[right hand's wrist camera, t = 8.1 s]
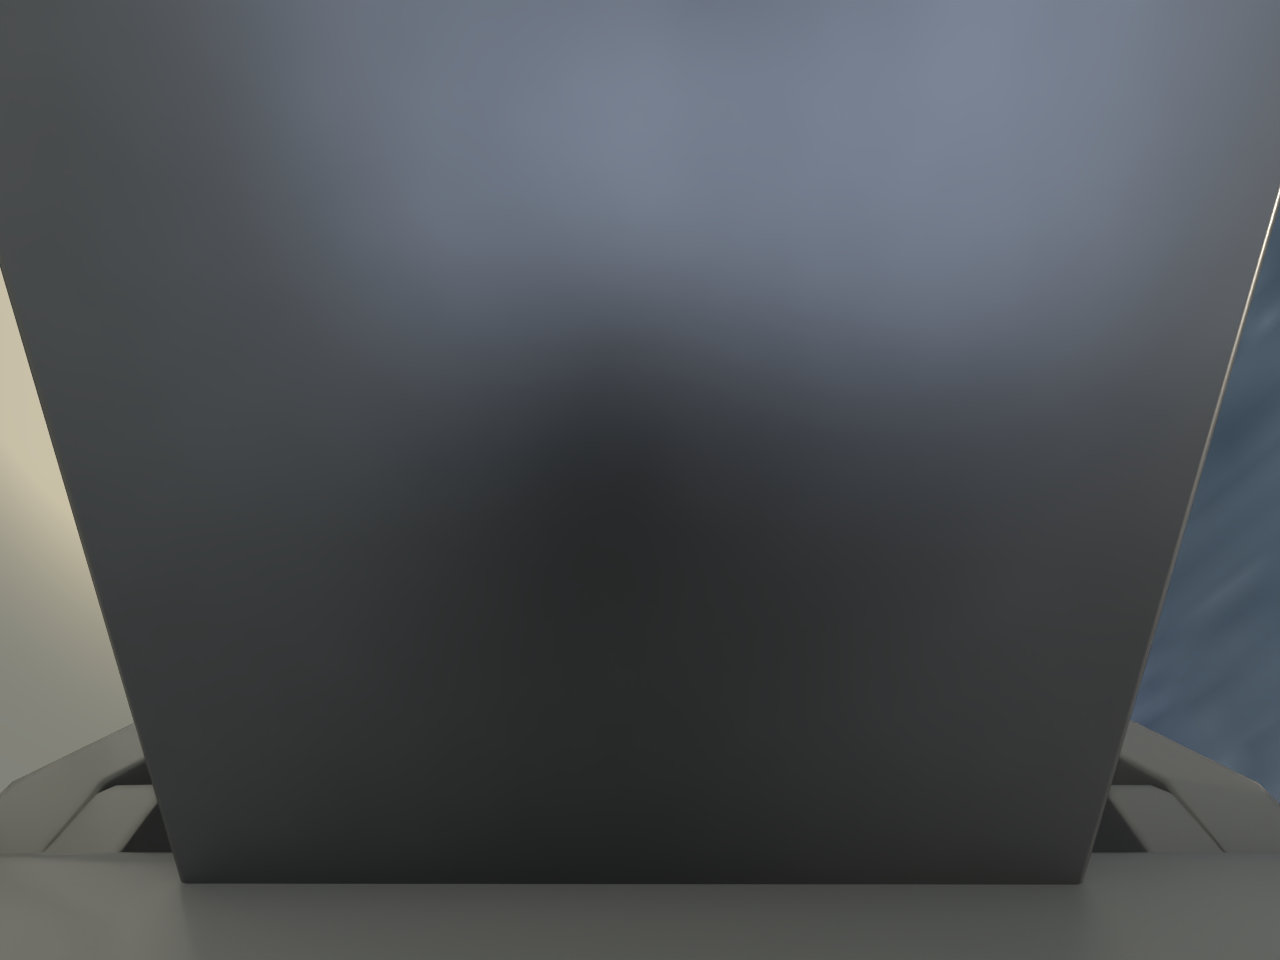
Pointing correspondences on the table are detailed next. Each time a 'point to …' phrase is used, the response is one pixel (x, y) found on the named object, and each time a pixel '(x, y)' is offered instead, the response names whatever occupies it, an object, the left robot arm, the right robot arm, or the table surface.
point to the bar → (633, 414)
